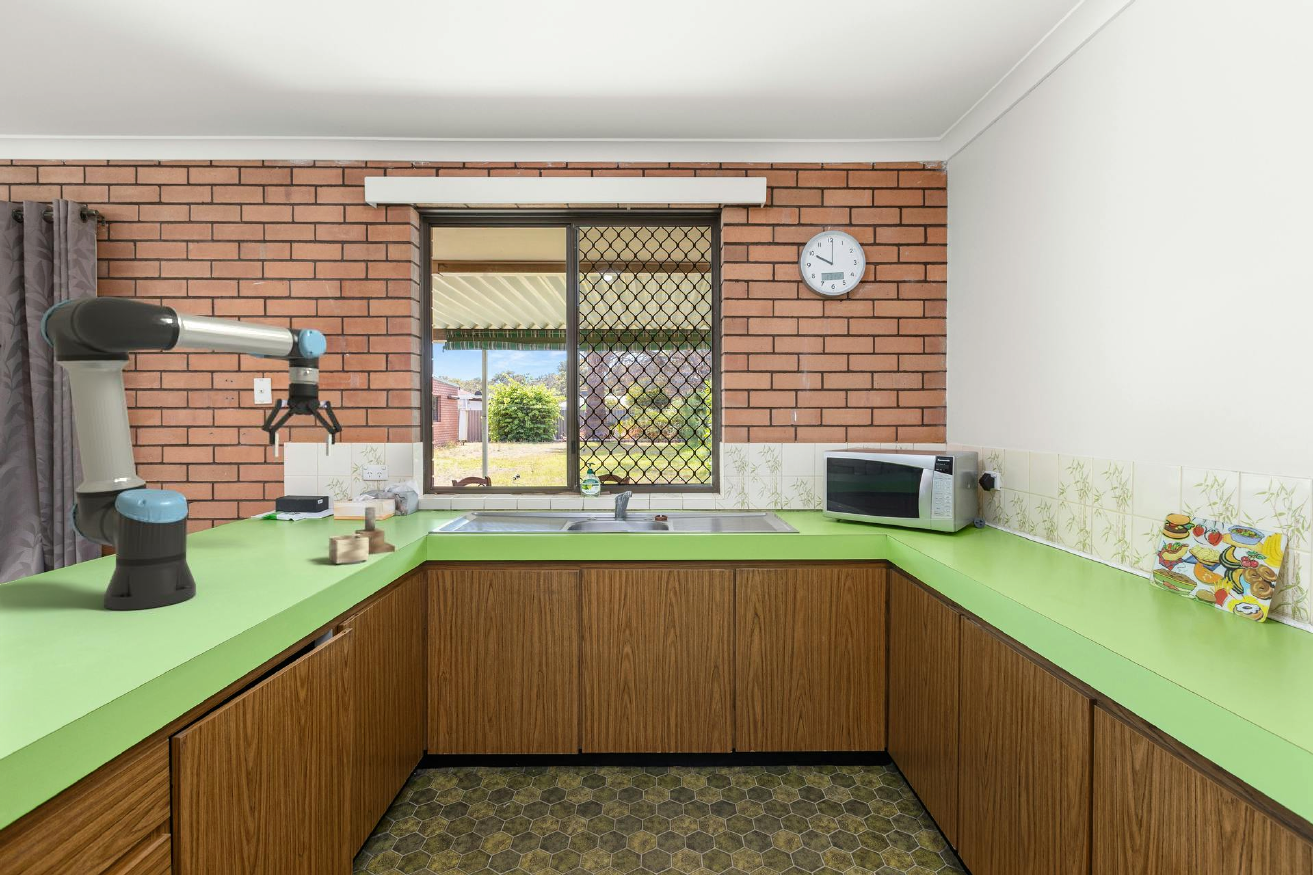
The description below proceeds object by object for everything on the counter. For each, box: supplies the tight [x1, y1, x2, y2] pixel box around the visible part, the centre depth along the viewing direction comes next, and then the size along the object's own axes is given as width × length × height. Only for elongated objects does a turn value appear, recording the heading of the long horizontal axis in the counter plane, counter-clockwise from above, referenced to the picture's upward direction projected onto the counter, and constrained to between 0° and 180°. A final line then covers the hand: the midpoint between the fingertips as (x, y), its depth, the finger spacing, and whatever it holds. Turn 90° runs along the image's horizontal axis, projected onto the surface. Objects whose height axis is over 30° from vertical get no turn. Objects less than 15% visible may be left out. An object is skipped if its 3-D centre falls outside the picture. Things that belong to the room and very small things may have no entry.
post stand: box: [354, 506, 396, 555], centre depth 182 cm, size 11×11×13 cm
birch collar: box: [328, 533, 370, 563], centre depth 167 cm, size 8×8×6 cm
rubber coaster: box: [330, 559, 367, 566], centre depth 168 cm, size 9×9×1 cm
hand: (302, 456), depth 174 cm, fingers open, 13 cm apart
